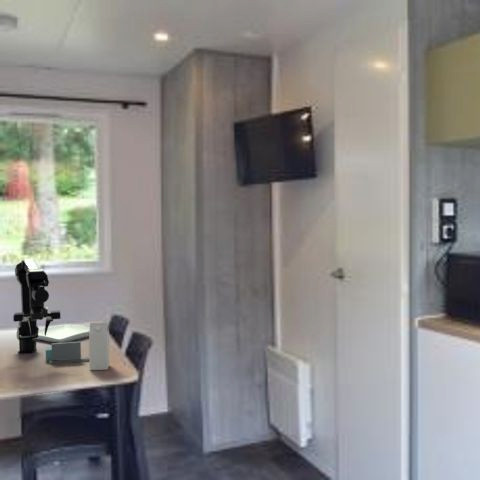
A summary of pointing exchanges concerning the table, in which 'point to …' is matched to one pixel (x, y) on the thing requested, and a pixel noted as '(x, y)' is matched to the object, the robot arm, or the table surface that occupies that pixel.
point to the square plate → (63, 333)
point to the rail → (69, 360)
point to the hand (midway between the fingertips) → (37, 336)
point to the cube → (48, 354)
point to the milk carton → (99, 346)
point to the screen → (66, 350)
